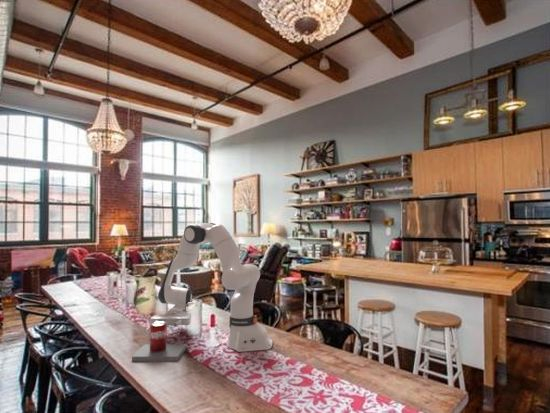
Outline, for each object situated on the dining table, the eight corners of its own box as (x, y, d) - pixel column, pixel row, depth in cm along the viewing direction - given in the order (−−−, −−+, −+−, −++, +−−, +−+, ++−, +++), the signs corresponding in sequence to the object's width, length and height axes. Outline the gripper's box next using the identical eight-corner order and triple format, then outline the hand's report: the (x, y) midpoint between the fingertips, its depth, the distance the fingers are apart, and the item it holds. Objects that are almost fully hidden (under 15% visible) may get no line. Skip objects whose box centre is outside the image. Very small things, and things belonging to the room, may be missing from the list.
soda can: (149, 348, 151) (150, 322, 151) (166, 346, 153) (166, 320, 154) (149, 354, 144) (149, 326, 144) (166, 352, 146) (166, 325, 147)
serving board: (186, 348, 155) (186, 344, 155) (177, 361, 141) (177, 356, 141) (144, 348, 155) (144, 344, 155) (131, 361, 141) (132, 356, 141)
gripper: (155, 310, 173) (145, 318, 159) (193, 310, 173) (186, 318, 159) (155, 322, 173) (144, 331, 159) (193, 322, 173) (186, 331, 159)
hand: (166, 324), depth 159 cm, fingers open, 8 cm apart
